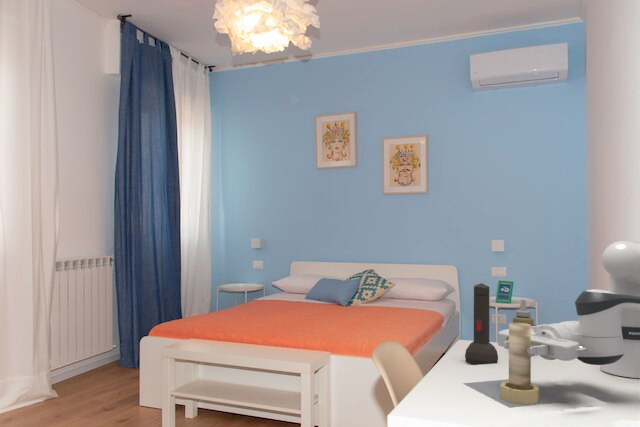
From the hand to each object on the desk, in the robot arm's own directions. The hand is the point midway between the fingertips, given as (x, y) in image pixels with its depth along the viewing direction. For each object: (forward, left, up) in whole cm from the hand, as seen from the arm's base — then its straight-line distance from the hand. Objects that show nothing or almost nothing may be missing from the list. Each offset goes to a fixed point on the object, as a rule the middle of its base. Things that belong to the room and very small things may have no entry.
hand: (517, 348), depth 133 cm
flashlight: (-14, -37, -14) cm, 41 cm away
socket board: (-3, -5, -13) cm, 15 cm away
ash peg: (-1, 0, -8) cm, 8 cm away
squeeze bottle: (-35, -43, -14) cm, 57 cm away
